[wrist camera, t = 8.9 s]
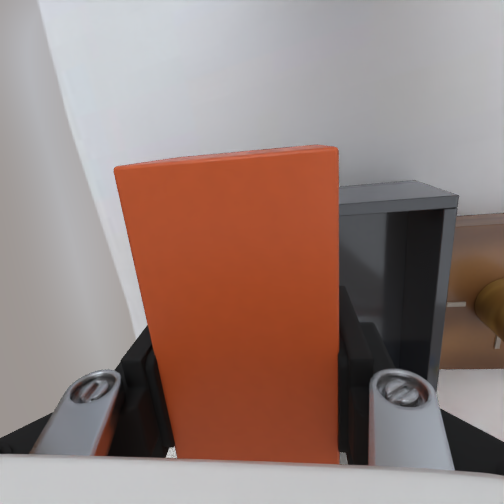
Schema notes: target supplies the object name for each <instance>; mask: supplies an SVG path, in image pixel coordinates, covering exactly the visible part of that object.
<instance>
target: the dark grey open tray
mask: <svg viewBox="0 0 504 504" xmlns="http://www.w3.org/2000/svg"><path fill="white" fill-rule="evenodd" d="M458 199H459V195H457V194H454V193H451V192H448V191H445V190H442V189H439V188H436V187H434V186H431V185H428V184H425V183H422V182H419V181H416V180H412V181H400V182H388V183H376V184H365V185H353V186H341V187H339V286H345V287H346V290H347V292H348V295H349V297H350V300H351V303H352V305H353V308H354V310H355V313H356V315H357V318H358V320H359V322H373V323H374V324H375V326H376V328H377V330H378V332H379V334H380V336H381V338H382V340H383V342H384V345H385V347H386V349H387V351H388V353H389V355H390V357H391V359H392V361H393V363H394V366H395V368H396V369H402V370H406V371H410V372H412V373H415V374H417V375H419V376H421V377H422V378H424V379H425V380H427V381H428V382H429V383H430V385H431V386H432V387H433V388H434V390H435V392H437V383H438V375H439V366H440V357H441V348H442V339H443V331H444V322H445V313H446V304H447V295H448V286H449V278H450V269H451V260H452V251H453V242H454V233H455V225H456V216H457V207H458Z"/></svg>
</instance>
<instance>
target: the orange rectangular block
mask: <svg viewBox="0 0 504 504" xmlns="http://www.w3.org/2000/svg"><path fill="white" fill-rule="evenodd" d="M114 175H115V180H116V184H117V189H118V193H119V198H120V202H121V207H122V211H123V216H124V220H125V225H126V229H127V234H128V238H129V243H130V247H131V252H132V256H133V261H134V265H135V270H136V274H137V279H138V283H139V288H140V292H141V297H142V301H143V306H144V310H145V315H146V319H147V324H148V328H149V333H150V337H151V342H152V346H153V351H154V355H156V360H157V364H158V369H159V373H160V378H161V382H162V387H163V391H164V396H165V401H166V405H167V410H168V414H169V419H170V423H171V428H172V432H173V437H174V441H175V450H176V454H177V458H180V459H210V460H239V461H267V462H292V463H317V464H340V452H339V450H338V353H339V150H338V148H337V147H334V146H325V145H306V146H296V147H285V148H274V149H263V150H252V151H242V152H231V153H220V154H209V155H198V156H188V157H177V158H170V159H163V160H156V161H150V162H143V163H136V164H129V165H122V166H117V167H115V168H114Z"/></svg>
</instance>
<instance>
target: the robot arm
mask: <svg viewBox="0 0 504 504" xmlns="http://www.w3.org/2000/svg"><path fill="white" fill-rule="evenodd" d="M174 446H175V441H174V437H173V432H172V428H171V423H170V419H169V414H168V410H167V405H166V401H165V396H164V391H163V387H162V382H161V378H160V373H159V369H158V364H157V360H156V355H154V351H153V346H152V342H151V337H150V333H149V328H148V325H147V327H146V328H145V329H144V331H143V332H142V333H141V334H140V336H139V337H138V338H137V340H136V341H135V342H134V344H133V345H132V346H131V348H130V349H129V350H128V352H127V353H126V354H125V356H124V357H123V358H122V360H121V362H120V364H119V365H118V366H117V368H116V369H115V370H99V371H95V372H92V373H89V374H87V375H85V376H83V377H81V378H80V379H78V380H77V381H75V382H74V383H73V384H72V385H70V387H69V388H68V389H67V391H66V392H65V393H64V395H63V397H62V398H61V400H60V402H59V403H58V405H57V407H56V409H55V410H54V412H53V413H51V414H49V415H47V416H45V417H43V418H40V419H38V420H36V421H34V422H32V423H30V424H28V425H26V426H24V427H22V428H20V429H18V430H16V431H14V432H12V433H10V434H8V435H6V436H4V437H2V438H0V504H504V442H502V441H501V440H499V439H497V438H495V437H493V436H491V435H489V434H487V433H485V432H484V431H482V430H480V429H478V428H476V427H474V426H472V425H470V424H468V423H467V422H465V421H463V420H461V419H459V418H457V417H455V416H453V415H451V414H450V413H448V412H446V411H444V410H442V409H440V407H439V403H438V399H437V395H436V392H435V390H434V388H433V387H432V386H431V385H430V383H429V382H428V381H427V380H425V379H424V378H422V377H421V376H419V375H417V374H415V373H412V372H410V371H406V370H402V369H396V368H395V366H394V363H393V361H392V359H391V357H390V355H389V353H388V351H387V349H386V347H385V345H384V342H383V340H382V338H381V336H380V334H379V332H378V330H377V328H376V326H375V324H374V323H373V322H359V320H358V318H357V315H356V313H355V310H354V308H353V305H352V303H351V300H350V297H349V295H348V292H347V290H346V287H345V286H339V353H338V450H339V452H346V455H347V460H348V465H342V464H317V463H292V462H267V461H239V460H210V459H180V458H165V457H166V455H167V452H168V450H169V447H174Z"/></svg>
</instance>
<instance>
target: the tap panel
mask: <svg viewBox="0 0 504 504" xmlns="http://www.w3.org/2000/svg"><path fill="white" fill-rule="evenodd" d="M502 278H504V213H496V214H482V215H467V216H456V225H455V233H454V242H453V251H452V260H451V269H450V278H449V286H448V295H447V304H446V313H445V322H444V331H443V339H442V348H441V357H440V366H439V369H504V342H503V341H502V340H501V339H500V338H499V337H498V336H497V335H496V334H495V333H494V332H493V331H492V330H491V329H490V328H488V327H487V326H486V325H485V324H484V323H483V322H482V321H481V320H480V319H479V318H478V316H477V314H476V311H475V302H476V299H477V296H478V295H479V293H480V292H481V291H482V290H483V288H485V287H486V286H487V285H488V284H490V283H492V282H494V281H496V280H499V279H502Z"/></svg>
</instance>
